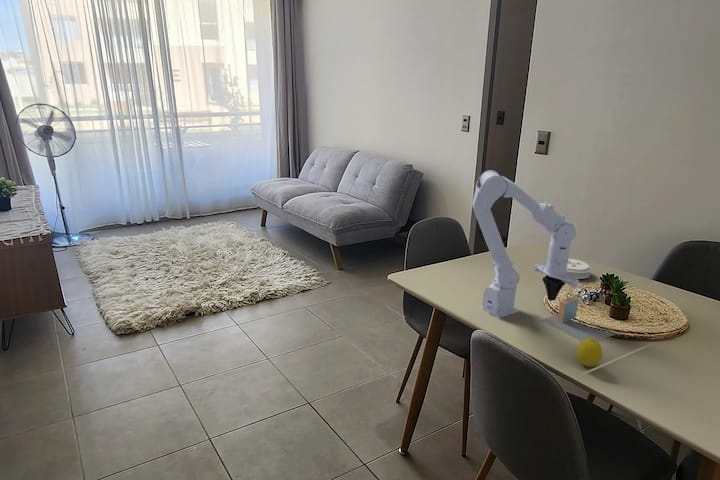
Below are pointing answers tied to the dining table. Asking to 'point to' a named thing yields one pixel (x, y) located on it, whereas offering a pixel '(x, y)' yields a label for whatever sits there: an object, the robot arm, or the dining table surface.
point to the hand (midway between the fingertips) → (551, 299)
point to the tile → (567, 309)
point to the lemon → (589, 352)
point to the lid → (578, 269)
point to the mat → (577, 329)
